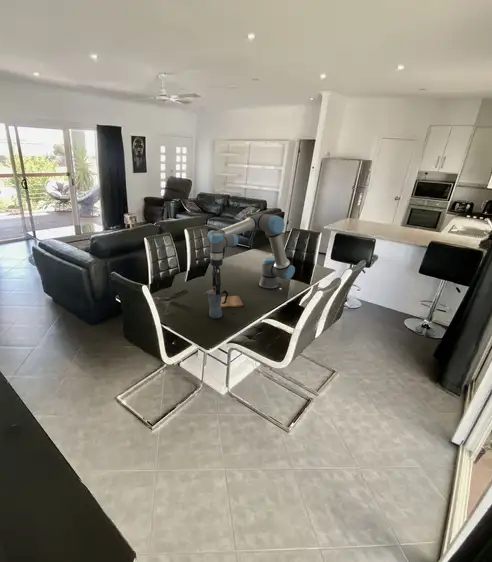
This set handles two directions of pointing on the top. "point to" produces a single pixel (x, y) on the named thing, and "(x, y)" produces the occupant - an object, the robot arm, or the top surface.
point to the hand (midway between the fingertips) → (216, 290)
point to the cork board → (231, 302)
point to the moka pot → (215, 303)
